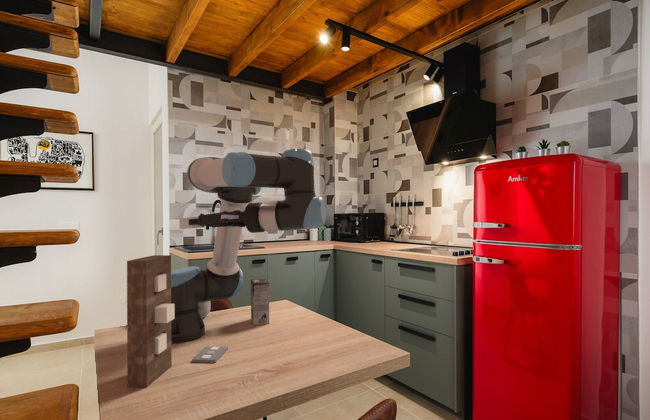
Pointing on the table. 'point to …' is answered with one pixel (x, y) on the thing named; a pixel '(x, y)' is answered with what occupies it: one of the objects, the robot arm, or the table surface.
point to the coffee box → (259, 301)
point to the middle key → (164, 313)
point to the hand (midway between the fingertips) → (181, 223)
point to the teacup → (205, 308)
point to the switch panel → (146, 320)
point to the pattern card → (210, 354)
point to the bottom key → (160, 343)
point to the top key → (159, 282)
